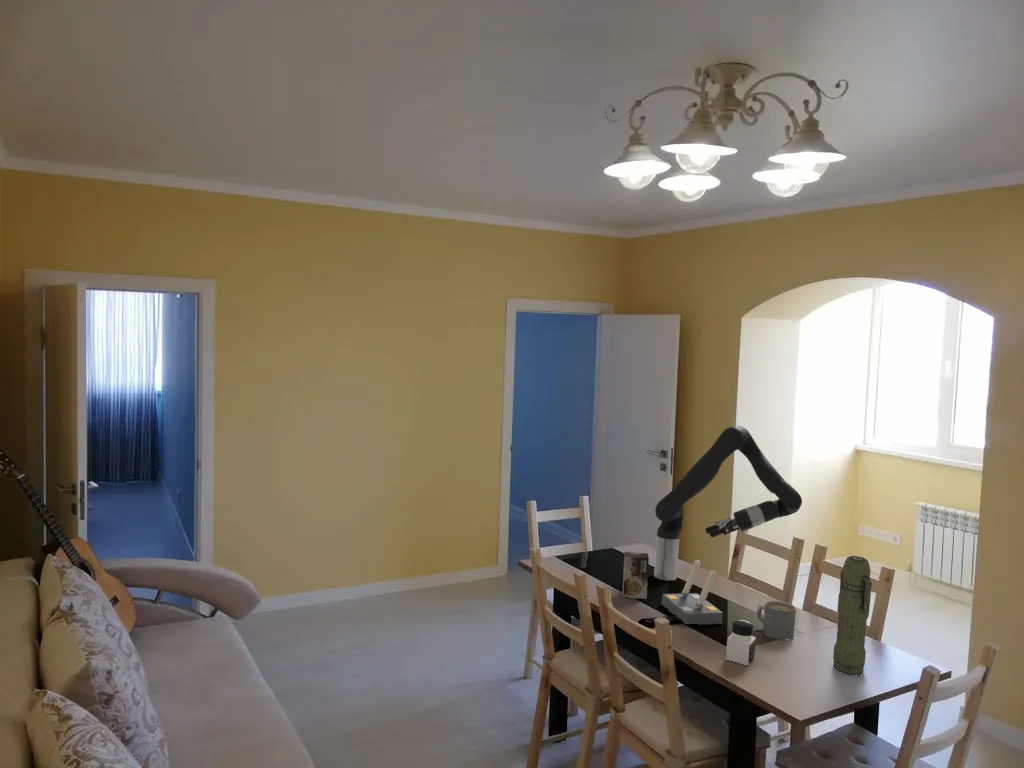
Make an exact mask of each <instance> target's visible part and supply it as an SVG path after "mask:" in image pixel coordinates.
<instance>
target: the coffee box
mask: <svg viewBox="0 0 1024 768" xmlns="http://www.w3.org/2000/svg"><path fill="white" fill-rule="evenodd" d="M623 556H624V557H623V559H624V560H623V574H622V577H623V578H622V592H621V593H622V598H625V597H629V598H630V599H641V600H647V597H648V580H649V579H648V578H649V562H650V557H649V554H648V553H646V552H645V553H644V552H632V551H624V555H623ZM629 598H628V599H629Z"/></svg>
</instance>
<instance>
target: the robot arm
mask: <svg viewBox="0 0 1024 768" xmlns="http://www.w3.org/2000/svg"><path fill="white" fill-rule="evenodd" d="M755 441H756V440H755V439H754V438H753V436H752V434H751V433H750V431H748V429H747V428H745V427H744V426H741V425H737V426H732V425H731V426H728V427H727V428H725V429H723V431H722V432H721V434H720V435H719V436H718V438H717V439H716V440H715V442H714V443H713V444H712V446H711V447H710V448H709V449H708V450H707V451H706V452H705V453H704V454H703V455H702V456H701V457H700V458H699V459H698V460H697V461H696V462H695V463H694V465H692V466H691V468H690V469H689V470H688V471H687V472H686V473H685V474H684V476H683V477H682V478H681V479H680V480H679V482H678V483H677V485H675V487H674V488H673V489H672V490H671V491H670V492H669V493H668V494H666V495H665V496H664V497H663V498H662V499H660V500H659V501H658V502H657V504H656V505H655V509H654V511H655V513H654V514H655V517H656V518H657V519H658V520H659V521H661V522H660V525H659V526H658V528H657V530H656V539H655V555H654V556H655V557H654V568H653V577H654V578H656V579H658V580H661V581H676V580H677V577H678V562H679V550H680V549H679V548H680V537H681V536H680V535H681V532H682V529H683V523H684V522H683V521H684V512H685V511H684V505H685V504H686V503H687V502H688V501H689V500H691V499H692V498H694V497H695V496H697V495H698V494H699V493H700V492H702V491H704V489H706V487H708V485H710V483H711V482H712V481H713V480H714V479H715V478H716V476H717V475H718V473H719V471H720V469H721V466H722V465H723V463H724V462H725V460H726V459H728V458H729V457H730V456H731V455H732V454H733V453H734V452H736V451H739V452H740V453H741V454H742V455H743V456H745V457H746V458H747V460H748V462H749V463H750V465H751V467H752V469H753V471H754V473H755V475H756V476H757V478H758V479H759V481H760V482H761V484H763V486H764V487H765V489H767V490H768V491H769V492H770V493H771V494H774V495H775V496H776V497H777V499H775V500H767V501H762V502H761V503H758V504H755V505H752V506H747V507H745V508H743V509H740V510H737V511H734V512H733V518H731V517H728V518H725V519H723V520H720V521H716V522H715V523H714V524H713V525H711V526H707V527H705V529H704V530H705V532H706V534H709V535H710V538H715V537H717V536H720V535H725V536H726V535H729V534H730V533H733V532H736V531H740V532H745V531H748V530H750V529H753V528H756V527H758V526H762V524H765V523H767V522H770V521H773V520H775V519H778V518H783V517H787V516H791V515H793V514H796V513H797V512H798V511H799V510H800V509H801V506H802V503H803V498H802V497H801V494H800V493H799V492H798V491H797V490H796V489H795V488H794V487H793V486H792V485H790V483H789V482H787V481H786V480H785V479H784V478H783V477H782V475H781V474H780V473H779V471H777V469H776V468H775V467H774V466H773V465H772V464H771V463H770V461H769V460H768V458H766V456H765V455H764V453H763V452H762V450H761V449H760V448H759V446H758V444H757V443H756V442H755Z"/></svg>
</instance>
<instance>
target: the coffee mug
mask: <svg viewBox="0 0 1024 768" xmlns="http://www.w3.org/2000/svg"><path fill="white" fill-rule="evenodd" d="M796 609H797V607H796V606H795V605H793V604H791V603H789V602H785V601H782V600H781V601H779V600H768V601H766V602H765V603H764V604H760V605H759V606H758V607H757V609H756V617H757V619H758V620H759V621H760V622H761V623H762V624H763V626H762V627H763V628H762V633H763V634H764V635H765V636H766V637H768V638H770V639H771V638H772V639H774V638H775V639H774V640H778V639H781V640H780V641H787V640H786V639H790V640H792V639H791V638H793V639H794V636H795V623H796ZM762 610H763V611H764V613H763V615H764V616H763V615H762Z"/></svg>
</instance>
